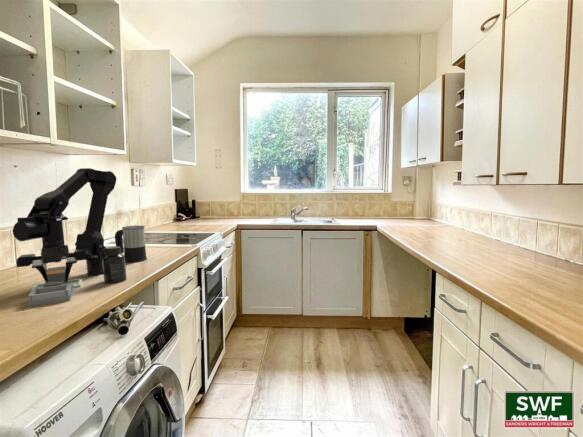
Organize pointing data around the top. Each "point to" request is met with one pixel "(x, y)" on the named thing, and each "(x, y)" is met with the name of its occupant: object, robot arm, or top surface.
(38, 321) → the top surface
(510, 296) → the top surface
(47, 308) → the top surface
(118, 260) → the supplement bottle
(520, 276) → the top surface
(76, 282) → the tray
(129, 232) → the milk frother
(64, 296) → the grey storage bin
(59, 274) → the plug
